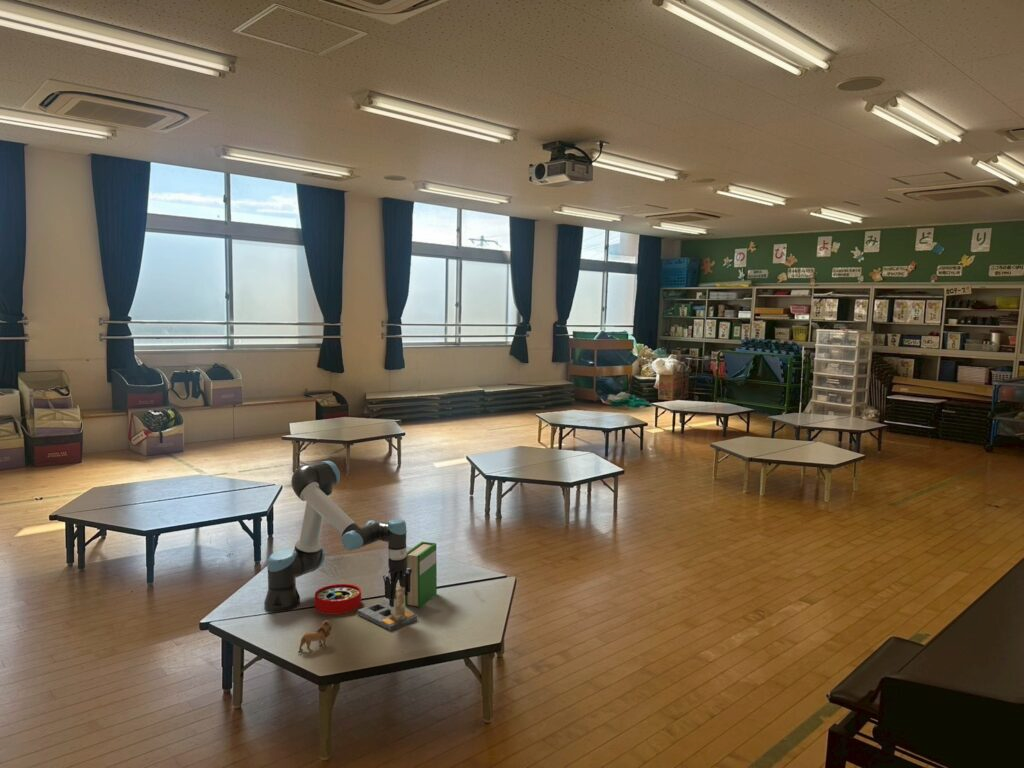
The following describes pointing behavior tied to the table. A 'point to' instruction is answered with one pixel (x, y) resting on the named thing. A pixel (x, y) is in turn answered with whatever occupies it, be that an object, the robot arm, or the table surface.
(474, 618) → the table surface
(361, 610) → the slotted board
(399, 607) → the peg
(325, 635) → the lion figurine
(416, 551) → the hardback book
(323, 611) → the toy clock
